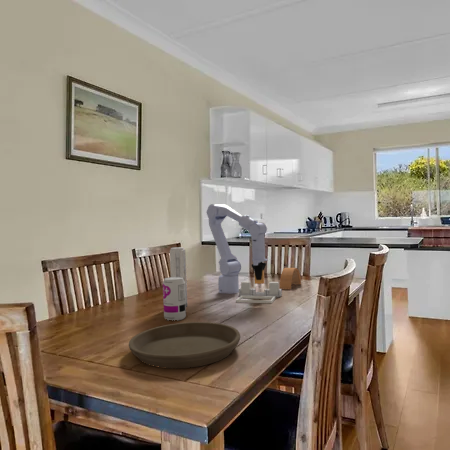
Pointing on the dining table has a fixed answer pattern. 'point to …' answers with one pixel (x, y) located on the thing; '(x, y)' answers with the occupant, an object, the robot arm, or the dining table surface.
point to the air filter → (178, 265)
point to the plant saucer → (185, 344)
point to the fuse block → (260, 293)
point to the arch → (289, 278)
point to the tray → (256, 300)
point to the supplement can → (174, 298)
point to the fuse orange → (259, 280)
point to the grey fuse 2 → (273, 287)
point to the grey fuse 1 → (245, 287)
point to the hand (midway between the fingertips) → (259, 279)
